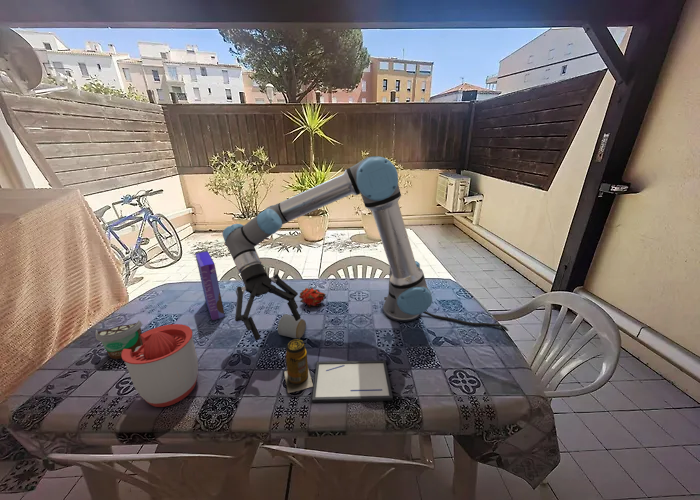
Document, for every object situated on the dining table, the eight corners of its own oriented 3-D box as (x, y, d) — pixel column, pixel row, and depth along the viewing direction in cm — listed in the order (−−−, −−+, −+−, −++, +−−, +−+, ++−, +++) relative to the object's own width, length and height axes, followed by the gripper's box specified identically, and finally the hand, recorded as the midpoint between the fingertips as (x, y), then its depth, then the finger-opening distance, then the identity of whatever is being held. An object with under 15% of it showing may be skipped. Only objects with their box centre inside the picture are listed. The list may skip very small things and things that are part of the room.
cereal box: (224, 317, 111) (214, 263, 103) (212, 320, 109) (200, 266, 100) (217, 298, 125) (207, 250, 116) (205, 302, 122) (194, 252, 114)
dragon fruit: (298, 306, 121) (324, 309, 122) (296, 305, 113) (325, 308, 114) (300, 287, 124) (327, 290, 125) (299, 285, 115) (327, 288, 116)
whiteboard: (385, 362, 87) (385, 360, 87) (392, 400, 74) (392, 397, 74) (316, 364, 87) (316, 361, 86) (312, 402, 73) (311, 399, 73)
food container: (98, 366, 86) (87, 341, 82) (104, 354, 91) (94, 329, 87) (145, 354, 91) (137, 329, 88) (148, 343, 96) (140, 319, 93)
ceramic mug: (298, 343, 96) (296, 325, 93) (277, 339, 98) (276, 321, 95) (311, 326, 105) (310, 309, 102) (292, 322, 107) (291, 305, 105)
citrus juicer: (159, 368, 85) (142, 314, 78) (214, 369, 84) (201, 315, 77) (118, 414, 70) (92, 352, 63) (183, 416, 70) (164, 353, 63)
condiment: (307, 366, 86) (305, 334, 82) (313, 386, 78) (311, 353, 74) (284, 372, 83) (280, 340, 79) (287, 394, 76) (284, 360, 72)
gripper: (281, 263, 98) (308, 316, 93) (208, 285, 81) (236, 351, 76) (288, 253, 92) (317, 308, 87) (211, 275, 76) (241, 345, 71)
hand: (279, 328), depth 82 cm, fingers open, 13 cm apart
